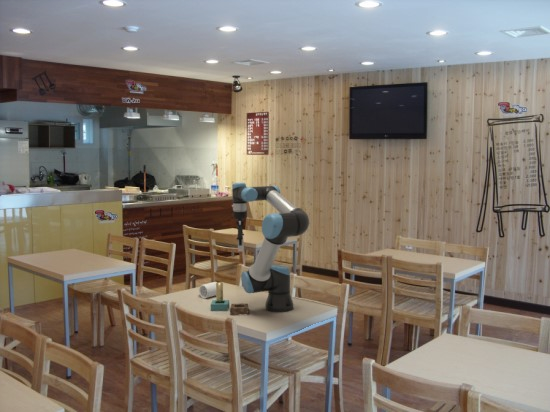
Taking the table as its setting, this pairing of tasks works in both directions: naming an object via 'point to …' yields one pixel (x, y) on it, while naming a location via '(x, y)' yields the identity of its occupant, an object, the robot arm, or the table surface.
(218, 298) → the pin
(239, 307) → the mount block
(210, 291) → the mug
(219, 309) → the socket block
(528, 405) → the table surface
